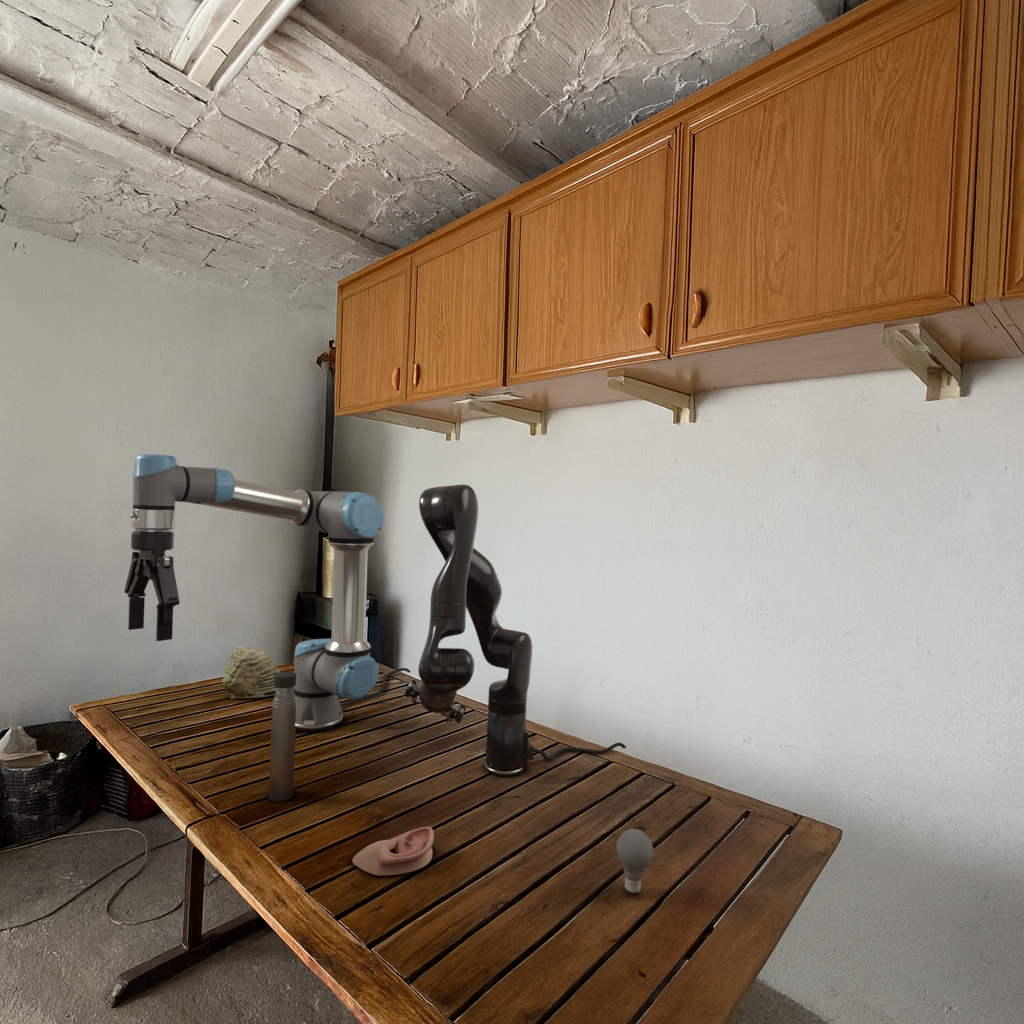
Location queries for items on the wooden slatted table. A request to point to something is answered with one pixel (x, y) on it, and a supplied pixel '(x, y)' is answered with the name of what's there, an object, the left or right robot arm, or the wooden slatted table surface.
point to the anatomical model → (397, 853)
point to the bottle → (282, 745)
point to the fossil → (250, 674)
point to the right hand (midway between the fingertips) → (432, 709)
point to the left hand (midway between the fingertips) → (149, 634)
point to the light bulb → (634, 857)
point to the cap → (285, 680)
